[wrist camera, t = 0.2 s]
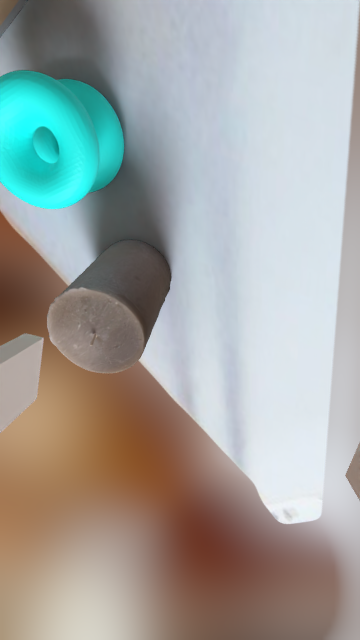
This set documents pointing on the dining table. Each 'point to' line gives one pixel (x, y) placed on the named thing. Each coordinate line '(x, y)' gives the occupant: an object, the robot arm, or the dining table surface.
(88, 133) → the donuts
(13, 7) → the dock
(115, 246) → the pillar candle
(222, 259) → the dining table surface
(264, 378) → the dining table surface
